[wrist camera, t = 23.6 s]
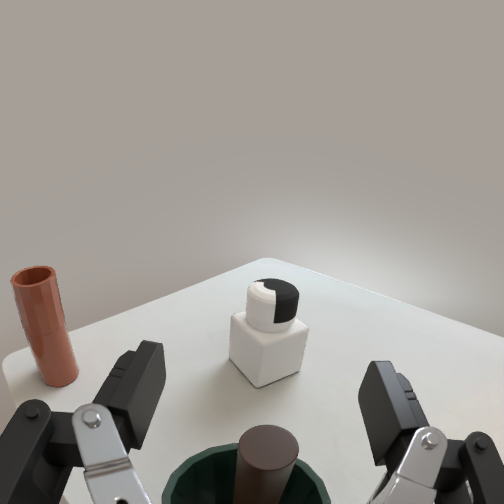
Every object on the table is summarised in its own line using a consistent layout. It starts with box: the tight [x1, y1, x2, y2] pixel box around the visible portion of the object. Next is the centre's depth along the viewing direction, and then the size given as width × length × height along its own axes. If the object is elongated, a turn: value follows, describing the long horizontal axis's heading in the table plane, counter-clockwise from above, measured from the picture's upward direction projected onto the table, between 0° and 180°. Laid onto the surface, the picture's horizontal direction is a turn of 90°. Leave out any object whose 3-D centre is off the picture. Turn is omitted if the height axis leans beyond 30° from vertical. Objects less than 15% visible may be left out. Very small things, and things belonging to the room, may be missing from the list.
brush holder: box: [10, 266, 79, 387], centre depth 29 cm, size 6×6×14 cm
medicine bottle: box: [229, 279, 309, 388], centre depth 37 cm, size 7×7×12 cm
